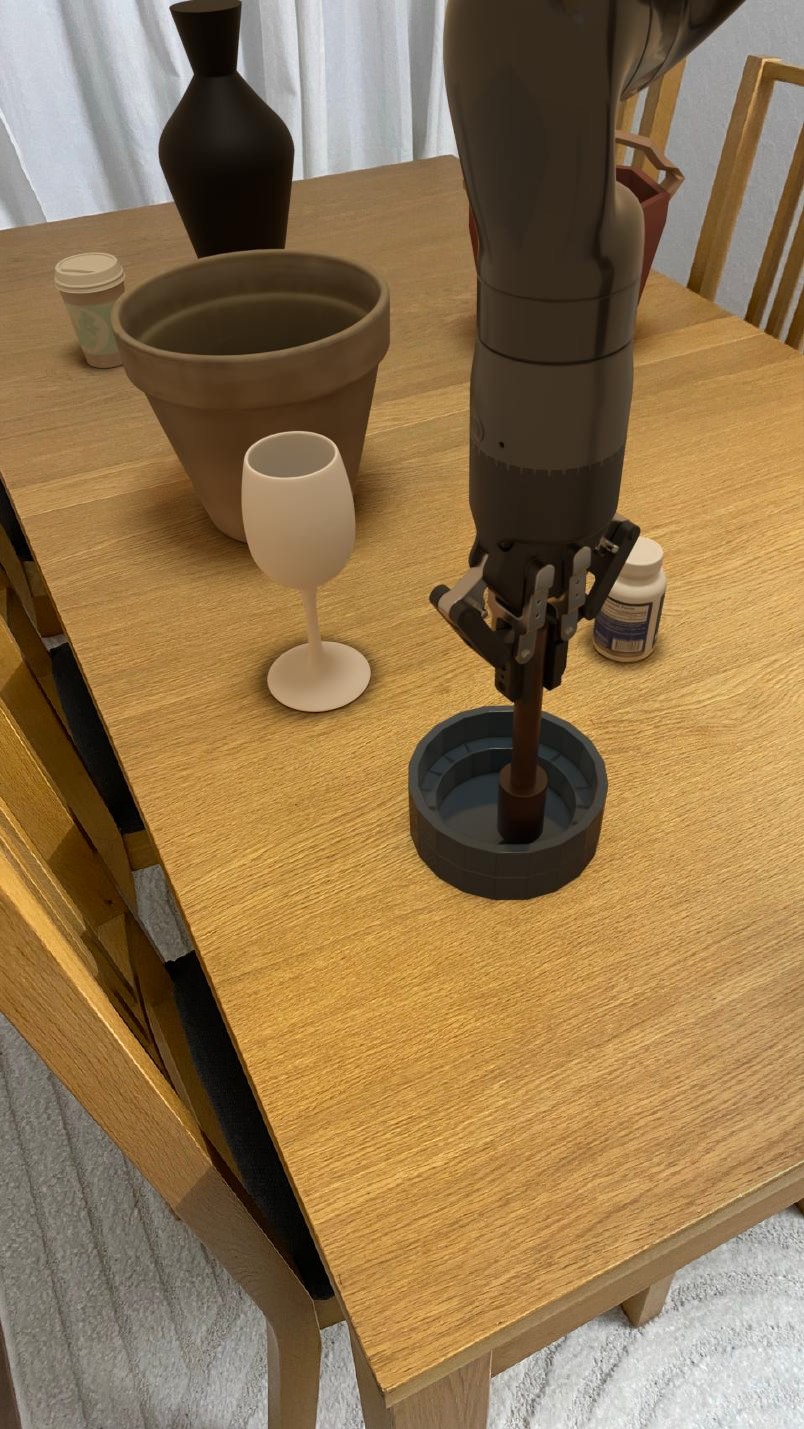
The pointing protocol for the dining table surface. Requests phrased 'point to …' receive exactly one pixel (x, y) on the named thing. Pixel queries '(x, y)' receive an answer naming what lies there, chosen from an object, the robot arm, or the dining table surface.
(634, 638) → the pill bottle
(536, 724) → the muddler
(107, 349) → the coffee cup
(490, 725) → the bowl
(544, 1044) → the dining table surface
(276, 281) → the flower pot
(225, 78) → the vase
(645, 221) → the bucket
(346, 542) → the wineglass
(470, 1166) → the dining table surface
